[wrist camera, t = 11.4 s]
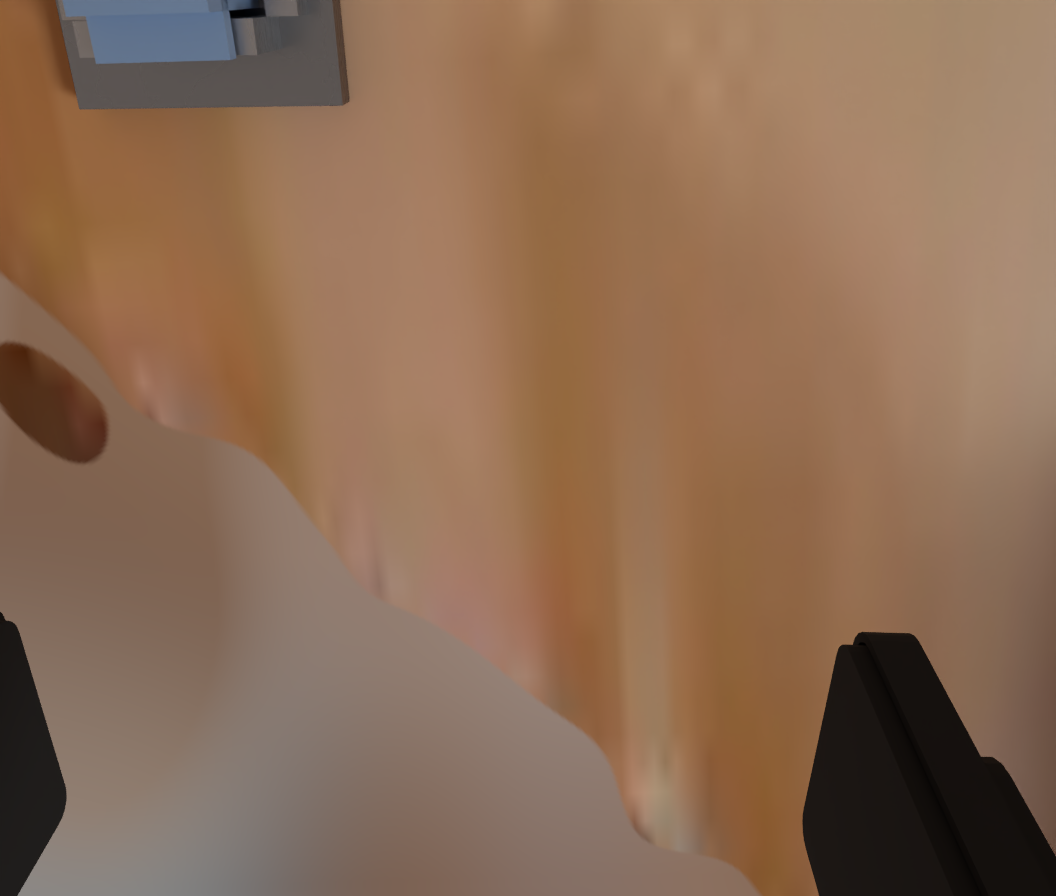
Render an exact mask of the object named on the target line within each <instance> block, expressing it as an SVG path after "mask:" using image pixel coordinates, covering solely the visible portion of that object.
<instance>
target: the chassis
mask: <svg viewBox="0 0 1056 896" xmlns="http://www.w3.org/2000/svg"><path fill="white" fill-rule="evenodd" d="M55 1H56V5H57V10H58V14H59V19H60V23H61V28H62V32H63V37H64V41H65V46H66V50H67V55H68V59H69V64H70V68H71V73H72V78H73V82H74V87H75V91H76V96H77V100H78V105H79V109H134V108H202V107H270V106H338V105H344V104H346V103H348V102H349V91H348V81H347V70H346V60H345V50H344V39H343V29H342V19H341V8H340V0H258V3H259V8H250V9H240V10H229V14H230V20H231V26H232V33H233V39H234V46H235V52H236V59H233V60H214V61H179V62H144V63H109V64H96V61H95V57H94V52H93V48H92V43H91V39H90V34H89V29H88V25H87V20H86V16H74V17H66V14H65V9H64V5H63V1H62V0H55Z"/></svg>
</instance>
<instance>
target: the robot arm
mask: <svg viewBox="0 0 1056 896" xmlns="http://www.w3.org/2000/svg"><path fill="white" fill-rule="evenodd" d="M65 805H66V787H65V783H64V780H63V777H62V774H61V770H60V767H59V763H58V760H57V757H56V753H55V750H54V747H53V743H52V740H51V737H50V733H49V730H48V727H47V723H46V720H45V717H44V713H43V710H42V707H41V703H40V700H39V697H38V694H37V690H36V687H35V684H34V680H33V677H32V673H31V670H30V667H29V663H28V660H27V657H26V654H25V650H24V647H23V643H22V640H21V637H20V633H19V631H18V629H17V627H16V625H15V624H14V623H13V622H11V621H6V620H5V619H4V616H3V614H2V613H1V612H0V896H17V895H18V893H19V892H20V890H21V888H22V887H23V885H24V883H25V881H26V880H27V878H28V876H29V875H30V873H31V871H32V869H33V867H34V866H35V864H36V863H37V861H38V859H39V857H40V856H41V854H42V852H43V850H44V849H45V847H46V845H47V844H48V842H49V840H50V838H51V837H52V835H53V833H54V832H55V830H56V828H57V826H58V825H59V822H60V821H61V819H62V816H63V813H64V810H65ZM803 836H804V842H805V846H806V850H807V854H808V857H809V861H810V864H811V868H812V872H813V875H814V879H815V882H816V886H817V889H818V893H819V896H1056V856H1055V854H1054V853H1053V851H1052V849H1051V847H1050V845H1049V844H1048V842H1047V840H1046V838H1045V837H1044V835H1043V833H1042V831H1041V829H1040V828H1039V826H1038V824H1037V822H1036V821H1035V819H1034V817H1033V815H1032V813H1031V812H1030V810H1029V808H1028V806H1027V805H1026V803H1025V801H1024V799H1023V797H1022V796H1021V794H1020V792H1019V790H1018V788H1017V787H1016V785H1015V783H1014V781H1013V780H1012V778H1011V776H1010V775H1009V773H1008V772H1007V770H1006V769H1005V768H1004V766H1003V765H1002V764H1001V763H1000V762H999V761H997V760H996V759H994V758H993V757H981V756H980V754H979V752H978V751H977V749H976V747H975V745H974V743H973V741H972V739H971V738H970V736H969V734H968V732H967V730H966V728H965V726H964V725H963V723H962V721H961V719H960V717H959V715H958V713H957V712H956V710H955V708H954V706H953V704H952V702H951V700H950V699H949V697H948V695H947V693H946V691H945V689H944V687H943V685H942V684H941V682H940V680H939V678H938V676H937V674H936V672H935V671H934V669H933V667H932V665H931V663H930V661H929V659H928V658H927V656H926V654H925V652H924V650H923V648H922V646H921V645H920V643H919V641H918V640H917V638H916V637H915V636H914V635H912V634H910V633H877V632H861V633H858V635H857V636H856V637H855V640H854V643H853V645H841V646H840V647H839V649H838V652H837V655H836V660H835V665H834V669H833V674H832V679H831V684H830V688H829V693H828V698H827V702H826V707H825V712H824V716H823V721H822V726H821V731H820V735H819V740H818V745H817V749H816V754H815V759H814V763H813V768H812V773H811V778H810V782H809V787H808V792H807V796H806V801H805V806H804V811H803Z"/></svg>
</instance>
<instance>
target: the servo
mask: <svg viewBox="0 0 1056 896" xmlns="http://www.w3.org/2000/svg"><path fill="white" fill-rule="evenodd" d="M62 1H63V5H64V9H65V14H66V17H74V16H86V20H87V25H88V29H89V34H90V39H91V43H92V48H93V52H94V57H95V61H96V64H109V63H144V62H179V61H214V60H233V59H236V52H235V46H234V39H233V33H232V26H231V20H230V14H229V10H240V9H250V8H259V3H258V0H62Z"/></svg>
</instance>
